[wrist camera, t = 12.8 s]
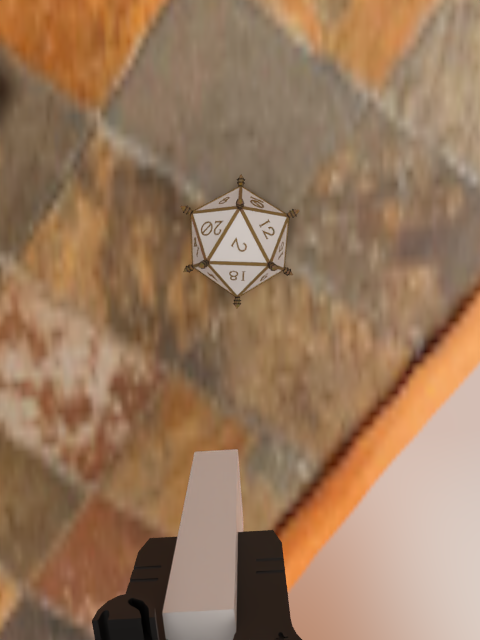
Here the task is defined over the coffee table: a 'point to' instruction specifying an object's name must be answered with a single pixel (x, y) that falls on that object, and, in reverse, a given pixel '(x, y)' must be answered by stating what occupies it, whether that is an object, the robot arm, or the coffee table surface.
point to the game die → (239, 240)
